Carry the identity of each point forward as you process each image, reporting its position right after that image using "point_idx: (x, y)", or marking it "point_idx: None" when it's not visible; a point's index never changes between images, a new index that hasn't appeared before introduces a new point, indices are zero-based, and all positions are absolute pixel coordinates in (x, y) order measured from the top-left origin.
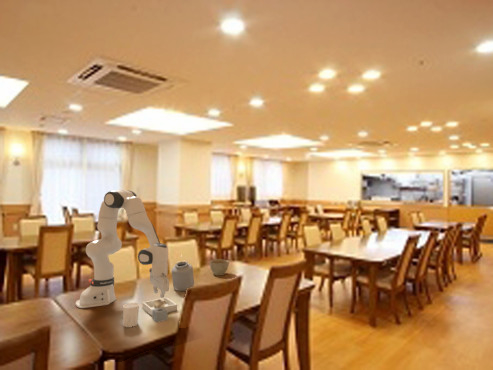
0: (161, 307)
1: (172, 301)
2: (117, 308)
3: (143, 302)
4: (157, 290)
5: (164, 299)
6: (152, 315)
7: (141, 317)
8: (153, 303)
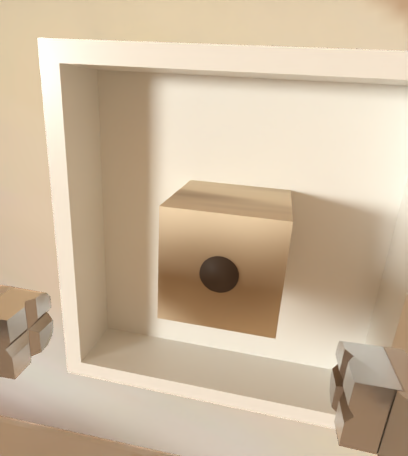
0: (405, 326)
1: (291, 51)
2: None
3: (76, 367)
4: (15, 319)
5: (72, 88)
6: None
7: (312, 444)
8: (93, 244)
